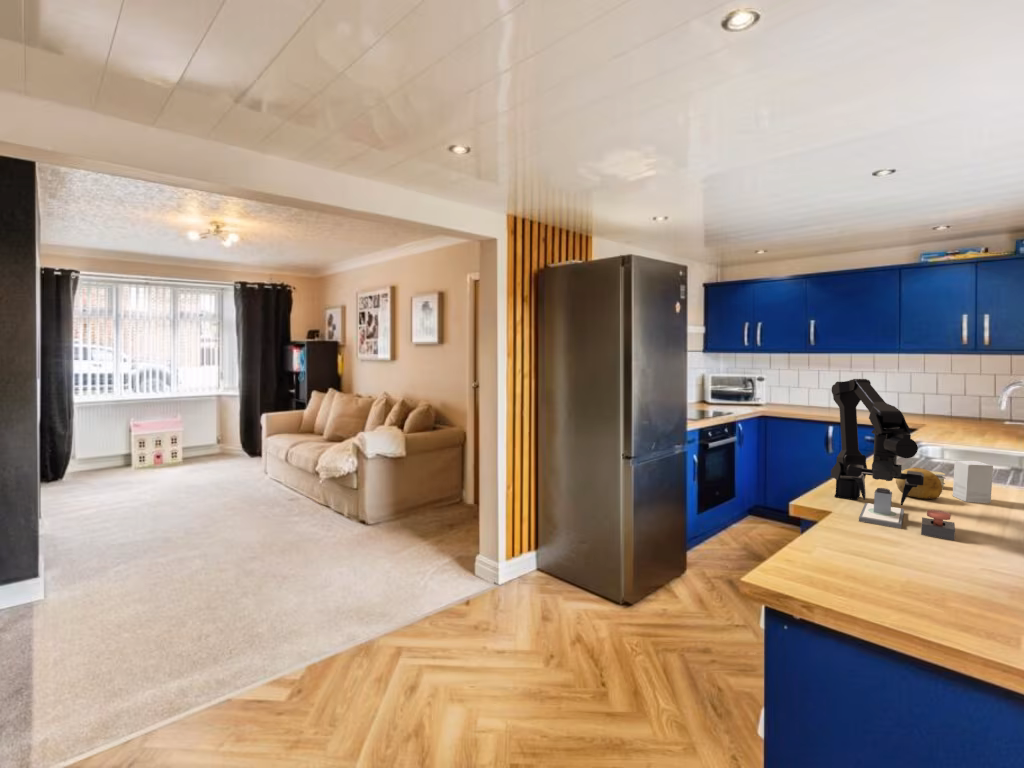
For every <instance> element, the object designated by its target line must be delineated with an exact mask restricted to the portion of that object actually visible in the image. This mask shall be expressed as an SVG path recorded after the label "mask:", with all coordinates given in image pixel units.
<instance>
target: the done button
mask: <svg viewBox="0 0 1024 768" xmlns="http://www.w3.org/2000/svg"><path fill="white" fill-rule="evenodd" d="M926 516H927V518H928V517H929V518H930V519H934V521H933V524H936V525H942V526H943V521H950V520H951V516H952V515H951V513H949V512H948V511H943V510H940V509H927V510H926Z"/></svg>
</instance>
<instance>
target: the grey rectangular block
mask: <svg viewBox="0 0 1024 768" xmlns="http://www.w3.org/2000/svg"><path fill="white" fill-rule="evenodd" d="M873 494H874V496H873V497H874V498H873V499H874V500H873V504H874V512H875V513H881V514H887V515H890V513H891V507H892V497H893V491H891V489H888V488H886V487H885V488H884V487H877V488H876V489H875V491H874V493H873Z"/></svg>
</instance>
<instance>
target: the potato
mask: <svg viewBox="0 0 1024 768" xmlns="http://www.w3.org/2000/svg"><path fill="white" fill-rule="evenodd" d="M907 471H914V472H922V473H923V474H924V481H923V485H918V486H917V487H913V488H912V489H911V490H910V492H909V493H908V495H907V497H910V498H918V499H924V500H925V499H926V500H927V499H928V500H929V499H933V500H936V499H938V498H940V496H941V494H942V492H943V488H942V484H941V481H940V479H939V478H938V477H937V476H936V475H937V474H933V473H932V472H930V471H931V470H927V469H925V468H921V467H910V468H906V469H904V470H902V471H901V473H905V474H907ZM905 481H906V480H903V479H895V484H896V486H897V489H898V490H899V491H900V493H902V494H903V490H904V485H905Z"/></svg>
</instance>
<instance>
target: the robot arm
mask: <svg viewBox="0 0 1024 768" xmlns="http://www.w3.org/2000/svg"><path fill="white" fill-rule="evenodd" d="M871 384H872V383H871V381H870V380H869V379H867V378H853V379H849V380H846V381H836V382H835V383H834V384H833V385H832V386H831V394H832V397H833V398H832V399H833V401H834V403H836V405H837V407H838V409H839V421H840V422H839V424H840V443H841V450H840V452H839V453H838V455H837V456H836V463H835V464H834V465H833V467H832V468H831V470H830V477H831V478H833V479H835V494H834V497H836V498H840V499H847V500H854V501H857V500H858V499H859V498H860V497H862V499H863V500H865V501H866V495H867V494H866V493H867V491H866V482H865V479H866V477H867V476H871V477H872V479H873V480H877V481H878V480H882V481H886V482H892V481H893V480H894V479H895V480H896V479H903V480H906V481H905V485H904V490H903V493H902V494H901V498H900V506H903V505H904V503H905V502H906V501H905V500H906V499H907V497H908V496H907V495H908V493H909V492H910V490H911V489H912V488H913V487H917V486H918V485H923V481H924V474H923V473H922V472H914V471H907V474H905V473H902V471H903V470H902V467H903V465H902V464H897V463H898V460H897V459H898V457H900V458H902V459H911V458H913V457H914V456H916V455H917V453H918V451H919V447H918V443H917V442H916V441H915V440H914V439H912V438H911V432H910V427H909V425H908V423H907V421H906V419H905V416H904V414H903V412H902V411H901V410H900V409H898V408H897V407H896V406H895V405H891V404H889V403H887V402H886V401H885V400H884V399H883V398H882V396H881V395H880V394H879V393H878V392H877V391H876V389H875V388H874V386H872V385H871ZM860 402H862V404H863V406H865V408H866V409H867V410H868V412H869V415H868V419H869V421H870V423H871V425H872V427H873V428H874V429H872V430H871V434H874V439H873V442H874V443H873V457H872V458H873V459H872V463H871V468H868V466H867V456H866V455H865V454H862V453H861V451H860V450H859V449H860V448H859V433H858V432H859V431H858V430H859V429H858V419H857V418H858V414H857V406H859V404H860Z"/></svg>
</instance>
